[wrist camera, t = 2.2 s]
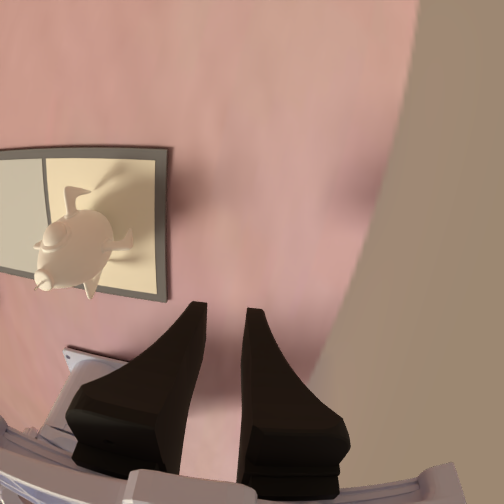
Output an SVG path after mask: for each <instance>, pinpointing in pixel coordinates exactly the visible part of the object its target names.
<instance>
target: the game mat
mask: <svg viewBox="0 0 504 504" xmlns="http://www.w3.org/2000/svg"><path fill="white" fill-rule="evenodd" d="M167 164H168V149H160V148H134V147H58V148H33V149H17V150H3V151H0V272H3V273H7V274H11V275H16V276H20V277H25V278H29V279H34V275H35V272H36V271H37V270H38V269H37V261H38V254H39V250H40V249H34V248H33V246H34V245H35V244H36V243H38V242H39V241H41V240H42V239H43V234H44V232H45V230H46V228H47V227H48V226H49V225H50V224H51V223H53V222H56V221H57V220H58V219H60V218H61V217H62V216H64V215H66V207H65V201H64V193H63V192H64V188H65V187H66V186H73V187H79V188H83V189H87V190H89V191H91V193H89V194H85V195H81V196H78V197H77V198H76V202H75V203H76V208H77V210H83V209H88V210H94V211H97V212H99V213H101V214H102V215H104V216H105V217H106V218H107V219H108V221H109V223H110V225H111V227H112V231H113V237H114V241H120V240H122V239H124V237H125V236H126V234H127V232H128V230H129V229H130V228H131V229H132V232H133V247H132V248H131V249H130V250H126V251H112V253H111V256H110V258H109V260H108V262H107V264H106V265H105V267H104V268H103V270H102V273H101V277H100V280H99V282H98V285H97V288H96V291H95V292H101V293H107V294H113V295H119V296H125V297H131V298H137V299H144V300H150V301H157V302H164V303H167V270H166V194H167ZM93 278H94V277H93ZM93 278H92V279H93ZM34 280H35V279H34ZM74 288H79V289H84V290H85V287H84V284H83V283H82V284H80V285H77V286H74Z"/></svg>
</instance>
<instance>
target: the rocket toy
mask: <svg viewBox="0 0 504 504" xmlns="http://www.w3.org/2000/svg"><path fill="white" fill-rule="evenodd" d="M63 193H64V201H65V207H66V215H64V216H62V217H61V218H60V219H58V220H57V221H56V222H53V223H51V224H50V225H49V226H48V227H47V228H46V230H45V232H44V234H43V239H42V240H41V241H39V242H38V243H36V244H35V245H34V246H33V248H34V249H40V250H39V254H38V261H37V269H38V270H37V271H36V272H35V275H34V279H35V282H36V284H37V287H36V288H35V289H34V290H36V289H37V288H38V287H39V288H40V289H42V290H44V291H50V290H51V289H52V288H69V287H74V286H77V285H80V284H82V283H83V284H84V287H85V291H86V294H87V296H88V298H89V299H92V298H93V296H94V294H95V291H96V288H97V285H98V282H99V280H100V277H101V273H102V270H103V268H104V267H105V265H106V264H107V262H108V260H109V258H110V256H111V253H112V251H126V250H130V249H131V248H132V247H133V232H132V229H131V228H130V229H129V230H128V232H127V234H126V236H125V237H124V239H122V240H120V241H114V237H113V231H112V227H111V225H110V223H109V221H108V219H107V218H106V217H105V216H104V215H102V214H101V213H99V212H97V211H94V210H88V209H83V210H77V208H76V203H75V202H76V198H77V197H78V196H81V195H85V194H89V193H91V191H89V190H87V189H83V188H79V187H73V186H66V187H65V188H64V192H63ZM93 277H94V278H93ZM92 278H93V279H92Z"/></svg>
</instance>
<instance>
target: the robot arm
mask: <svg viewBox="0 0 504 504" xmlns="http://www.w3.org/2000/svg"><path fill="white" fill-rule="evenodd" d="M206 323H207V303H204V302H196V301H192V302H191V303H190V304H189V305H188V307H187V308H186V309H185V311H184V312H183V313H182V315H181V316H180V317H179V318H178V319H177V320H176V322H175V323H174V324H173V325H172V326H171V327H170V328H169V329H168V330H167V331H166V332H165V333H164V334H163V335H162V336H161V337H160V338H159V339H158V340H157V341H156V342H155V343H154V344H153V345H151V346H150V347H149V348H148V349H147V350H145V351H144V352H143V353H142V354H140V355H139V356H137V357H136V358H134V359H133V360H132V361H130V362H125V361H120V360H116V359H111V358H107V357H102V356H98V355H94V354H90V353H86V352H82V351H78V350H74V349H70V348H66V347H65V348H64V349H63V354H64V357H65V359H66V362H67V365H68V367H69V370H70V375H69V376H68V378H67V380H66V382H65V384H64V386H63V388H62V389H61V391H60V393H59V395H58V397H57V399H56V401H55V403H54V405H53V407H52V409H51V411H50V413H49V414H48V416H47V418H46V421H45V423H44V424H43V426H42V427H41V429H40V430H39V432H38V430H37V429H36V428H34V427H31V428H26V429H25V430H24V432H23V433H22V432H20V431H18V430H16V429H14V428H12V427H10V426H8V425H7V423H6V421H5V420H4V418H3V417H2V416H1V415H0V484H1V486H0V494H1V495H0V500H1V502H2V504H466V501H465V497H464V494H463V490H462V487H461V484H460V481H459V478H458V475H457V472H456V469H455V466H454V463H453V462H449V463H446V464H442V465H438V466H433V467H431V468H428V469H426V470H425V471H423V472H422V473H421V474H420V475H419V476H418V477H416V478H412V479H407V480H401V481H396V482H390V483H384V484H377V485H369V486H361V487H352V488H341V489H339V482H338V475H339V474H340V468H339V463H340V462H341V461H342V460H343V458H344V457H345V456H346V454H347V453H348V451H349V450H350V447H351V445H350V438H349V434H348V431H347V428H346V426H345V423H344V421H343V418H341V417H340V416H339V415H337V414H336V413H335V412H334V411H332V410H331V409H330V408H328V407H327V406H326V405H324V404H323V403H322V402H321V401H320V400H319V399H318V398H317V397H316V396H315V395H314V394H313V393H312V392H311V391H310V390H309V389H308V388H307V387H306V386H305V385H304V383H303V382H302V381H301V380H300V379H299V377H298V376H297V375H296V374H295V372H294V371H293V369H292V368H291V367H290V365H289V364H288V362H287V361H286V359H285V357H284V356H283V354H282V352H281V351H280V349H279V347H278V345H277V343H276V341H275V339H274V337H273V335H272V333H271V330H270V328H269V325H268V323H267V320H266V317H265V313H264V311H263V310H262V309H256V308H247V313H246V321H245V329H244V336H243V344H242V355H241V392H242V420H241V433H240V446H239V458H238V469H237V481H236V483H233V482H227V481H217V480H209V479H201V478H194V477H188V476H181V475H179V471H180V463H181V455H182V448H183V441H184V435H185V428H186V422H187V416H188V410H189V405H190V401H191V398H192V394H193V391H194V387H195V384H196V381H197V377H198V374H199V370H200V367H201V363H202V360H203V354H204V348H205V342H206ZM37 432H38V433H37Z"/></svg>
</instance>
